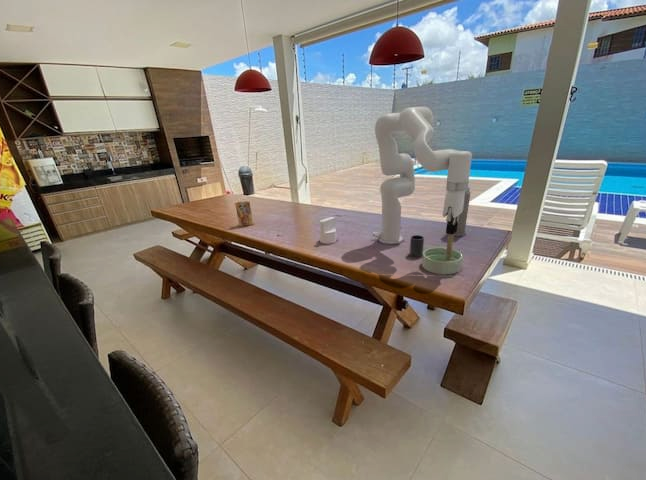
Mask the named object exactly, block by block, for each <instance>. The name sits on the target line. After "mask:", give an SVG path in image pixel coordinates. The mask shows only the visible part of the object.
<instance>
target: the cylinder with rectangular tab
mask: <svg viewBox="0 0 646 480" xmlns="http://www.w3.org/2000/svg"><path fill="white" fill-rule="evenodd" d="M318 224H319V230H318V231H319V243H322V244H323V245H330V244H334V243H336V242H337V240H338V238H337V236H338V235H337V229H336V218H335V217H334V216H330V217H326V218H323V219H321V220H319V223H318Z"/></svg>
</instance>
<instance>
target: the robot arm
mask: <svg viewBox="0 0 646 480" xmlns="http://www.w3.org/2000/svg"><path fill="white" fill-rule="evenodd" d="M433 119H434V115H433V112H432V110H431V109H430V108H429V107H427V106H412V107H406V108H404V109H402V111H401V112H388V113H387V112H386V113H383V114H381V115H380V116H378V118H377V120H376V121H375V125H374V135H375V140H376V141H377V146H378V153H379V162H380V169H381V173H382V174H383V176H385V177H388V176H389V177H391V176H398V175H399V176H398V177H391V178H388V179H385V180H383V181H382V183H381V184H380V186H379V192H380V197H381V230H380V231H378V232H375V231H374V232H372V237H374V238H378V239H377V240H378V242H379V243H382V244H385V245H386V244H387V245H396V244H399V243H402V242H403V241H404V238H403V236H401V222H402V204H401V203H400V201H399V198H405V197H408V196H411V195H412V194H413V193H414V192H415V189H416V178H415V167H414V161H413V158H412V157H411V155H410V154H409V153H399V152H398V151H399V150H398V144H397V141H396V139H395V138H394V136H392V134H403V133H406V134H407V135H408V137H409V138H410V139H411V140H412V142H413V143H414V146H413V152H414V157H415V160H416V161H417V163H419V165H420V166H421V167H422V168H423V169H424V170H425V171H427V172H429V173H435V172H442V171H447V177H446V185H445V187H446V188H445V191H446V193H445V197H444V203H443V209H442V217H443V218H444V217H446V220H445V221H446V226H445V227H446V229H445V234H447V235H448V234H454V233H455V232H457V226H458V223H456V222H458V219H459V215H460V214H461V213H462V211H463V206H464V197H465V191H467V189H468V187H469V183H468V181H469V182H470V180H469V179H470V173H471V166H472V161H473V160H472V159H473V153H472V152H471V151H468V150H457V149H453V148H446V149H438V150H433V149H432V148H431V147H430V145H428V143H429V142H430V141H431V140H432V139H433V136H434V133H435V129H434V127H433V125H432V123H433ZM455 219H456V221H455Z"/></svg>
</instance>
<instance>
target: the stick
mask: <svg viewBox="0 0 646 480" xmlns="http://www.w3.org/2000/svg"><path fill="white" fill-rule="evenodd" d="M455 221H456V219H455ZM447 235H448V236H447V243H446V248H447V250H446V258H445V261H447V262H449V261H450V260H451V252H452V249H453V243H454V237H455V236H454V234H447Z"/></svg>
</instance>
